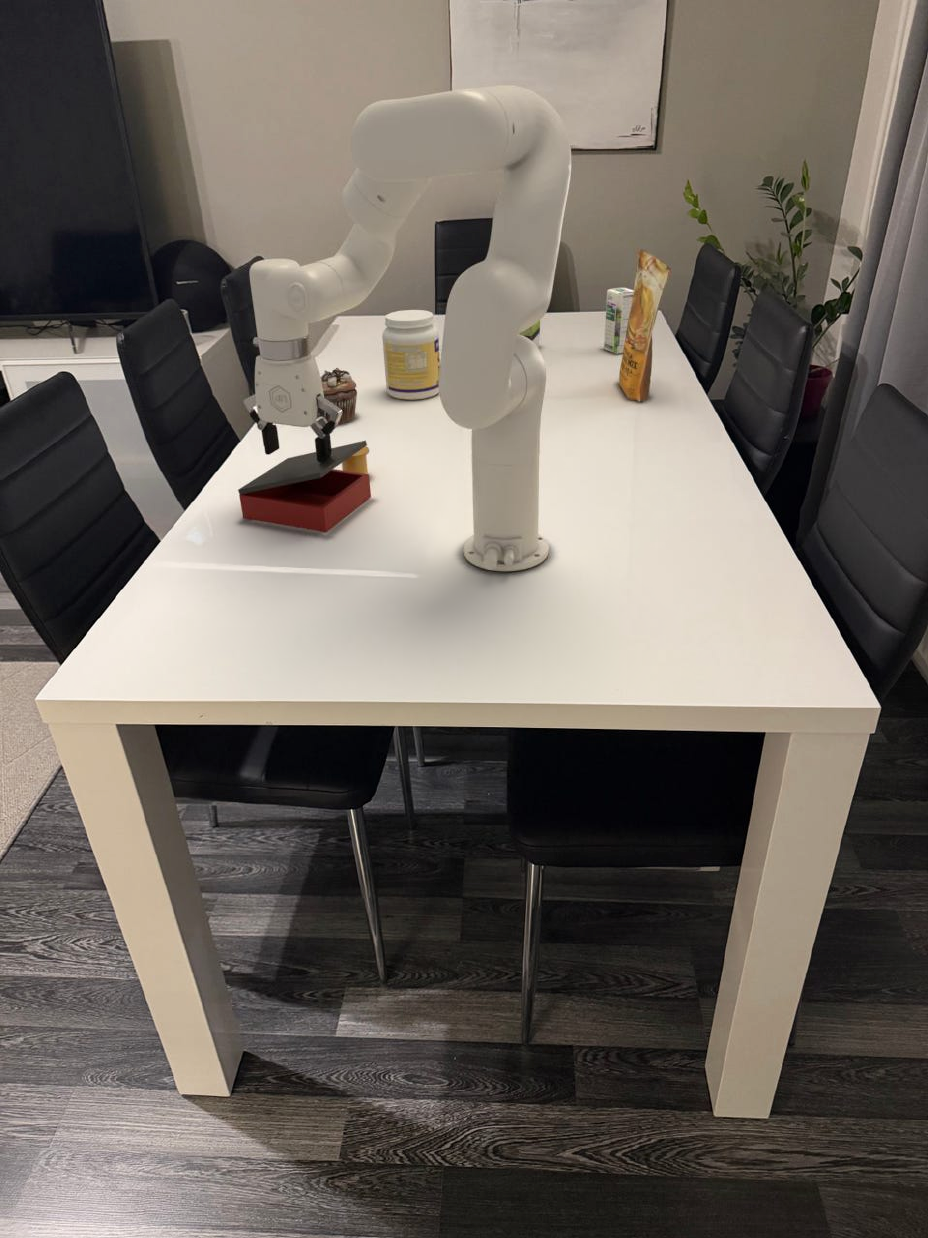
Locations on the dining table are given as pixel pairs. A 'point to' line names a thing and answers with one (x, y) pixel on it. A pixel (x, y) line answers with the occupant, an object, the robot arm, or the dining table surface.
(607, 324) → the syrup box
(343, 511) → the red open tray
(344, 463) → the brass drawer pull
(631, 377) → the pancake mix bag
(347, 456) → the lid
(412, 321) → the supplement tub
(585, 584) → the dining table surface
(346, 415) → the cupcake
